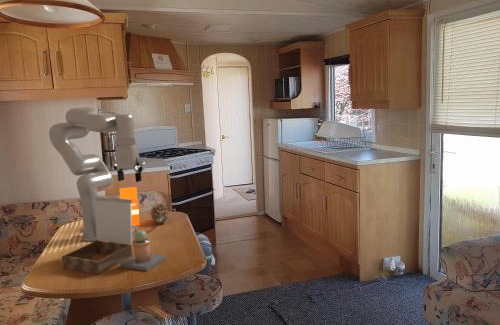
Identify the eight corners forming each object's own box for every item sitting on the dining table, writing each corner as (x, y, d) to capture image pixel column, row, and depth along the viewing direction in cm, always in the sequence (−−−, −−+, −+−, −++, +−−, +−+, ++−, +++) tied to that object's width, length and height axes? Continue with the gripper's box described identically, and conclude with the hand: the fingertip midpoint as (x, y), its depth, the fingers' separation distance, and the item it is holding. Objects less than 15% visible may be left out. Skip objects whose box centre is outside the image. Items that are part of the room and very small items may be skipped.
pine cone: (150, 219, 226) (149, 202, 225) (168, 217, 229) (167, 200, 227) (151, 231, 205) (150, 212, 204) (171, 229, 208) (169, 210, 206)
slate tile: (120, 266, 163) (120, 263, 163) (140, 255, 174) (139, 252, 174) (147, 271, 158) (147, 267, 158) (165, 259, 169) (165, 255, 169)
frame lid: (131, 244, 173) (132, 243, 174) (129, 199, 172) (131, 199, 173) (96, 239, 181) (98, 239, 182) (95, 197, 179) (97, 196, 180)
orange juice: (122, 223, 223) (119, 187, 220) (139, 220, 225) (136, 185, 222) (122, 227, 215) (119, 190, 212) (140, 224, 218) (136, 188, 215)
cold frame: (63, 268, 164) (61, 256, 164) (97, 251, 181) (96, 240, 181) (99, 274, 157) (98, 262, 156) (132, 256, 174) (131, 245, 173)
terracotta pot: (130, 261, 164) (127, 232, 162) (141, 255, 170) (138, 227, 168) (144, 263, 161) (141, 234, 159) (154, 257, 167) (152, 228, 166)
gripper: (104, 143, 179) (108, 181, 181) (136, 143, 172) (140, 183, 174) (116, 141, 185) (120, 178, 188) (147, 141, 178) (151, 180, 181)
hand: (129, 180), depth 181 cm, fingers open, 9 cm apart
